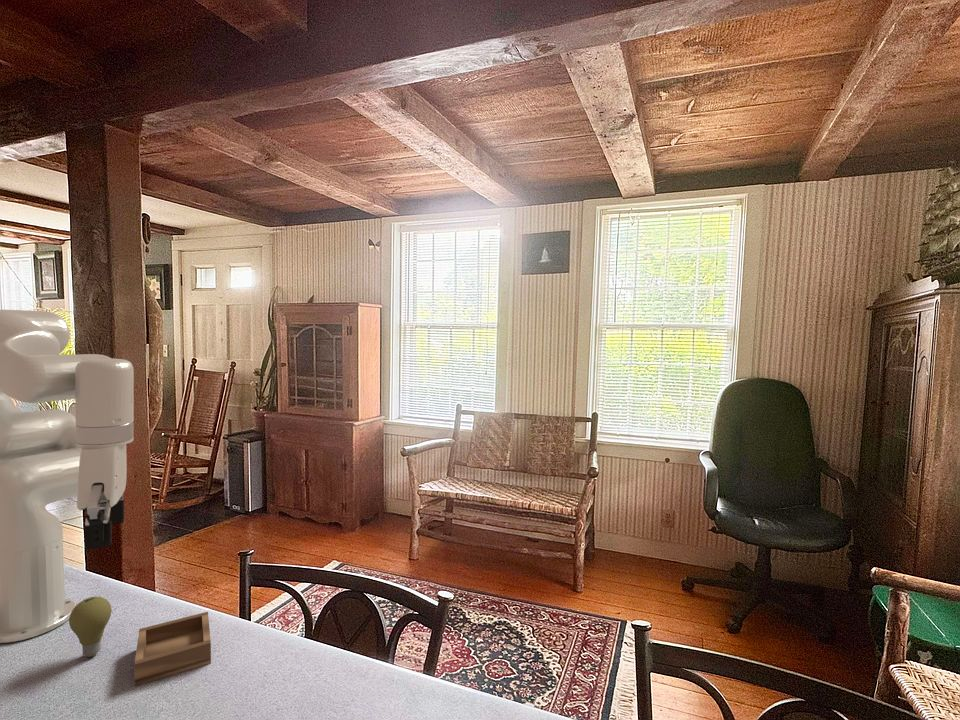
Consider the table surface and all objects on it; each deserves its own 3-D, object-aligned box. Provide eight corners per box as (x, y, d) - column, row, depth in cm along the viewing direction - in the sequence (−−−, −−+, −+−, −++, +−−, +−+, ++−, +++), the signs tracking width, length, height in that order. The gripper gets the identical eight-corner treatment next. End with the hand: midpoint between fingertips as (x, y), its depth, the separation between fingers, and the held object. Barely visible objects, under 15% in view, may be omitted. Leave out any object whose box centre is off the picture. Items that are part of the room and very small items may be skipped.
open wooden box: (139, 648, 84) (139, 628, 83) (208, 629, 89) (207, 611, 89) (134, 686, 75) (134, 664, 75) (210, 663, 80) (210, 642, 80)
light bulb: (88, 669, 78) (87, 610, 78) (61, 664, 79) (59, 605, 79) (120, 647, 84) (119, 592, 83) (94, 642, 85) (93, 588, 84)
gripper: (90, 424, 84) (91, 518, 86) (58, 448, 69) (60, 563, 70) (142, 422, 88) (142, 512, 89) (122, 445, 72) (122, 554, 74)
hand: (105, 534), depth 80 cm, fingers open, 9 cm apart
